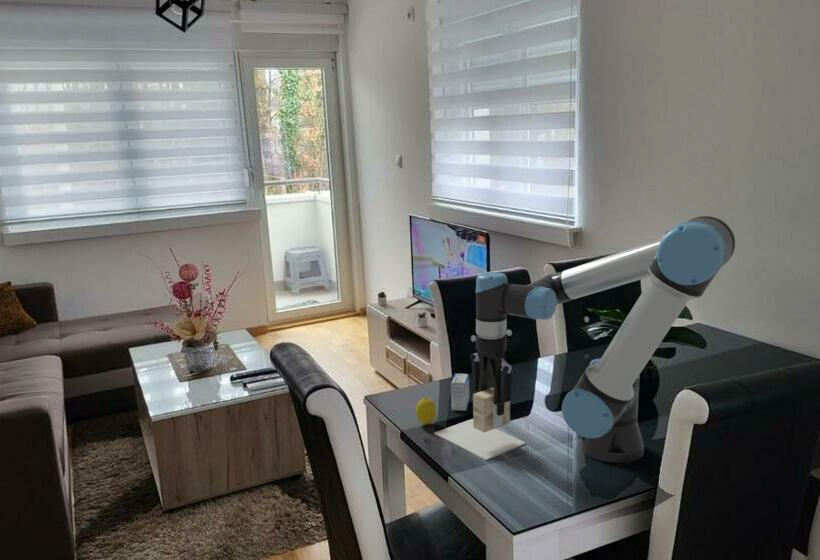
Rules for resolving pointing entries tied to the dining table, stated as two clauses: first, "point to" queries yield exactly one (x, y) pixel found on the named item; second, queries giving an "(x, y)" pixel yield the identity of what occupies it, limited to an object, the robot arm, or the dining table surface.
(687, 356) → the dining table surface
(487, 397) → the slab
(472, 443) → the placemat
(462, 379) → the medicine box
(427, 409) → the lemon
